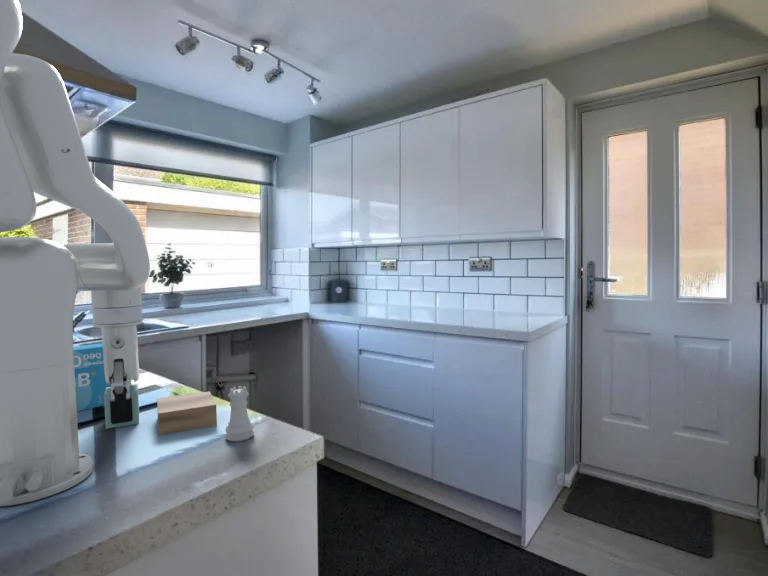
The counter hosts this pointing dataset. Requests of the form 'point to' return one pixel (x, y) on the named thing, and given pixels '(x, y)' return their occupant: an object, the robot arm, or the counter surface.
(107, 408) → the teal block
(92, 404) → the blue flat box
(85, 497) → the counter surface
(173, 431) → the walnut block
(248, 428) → the rook chess piece
